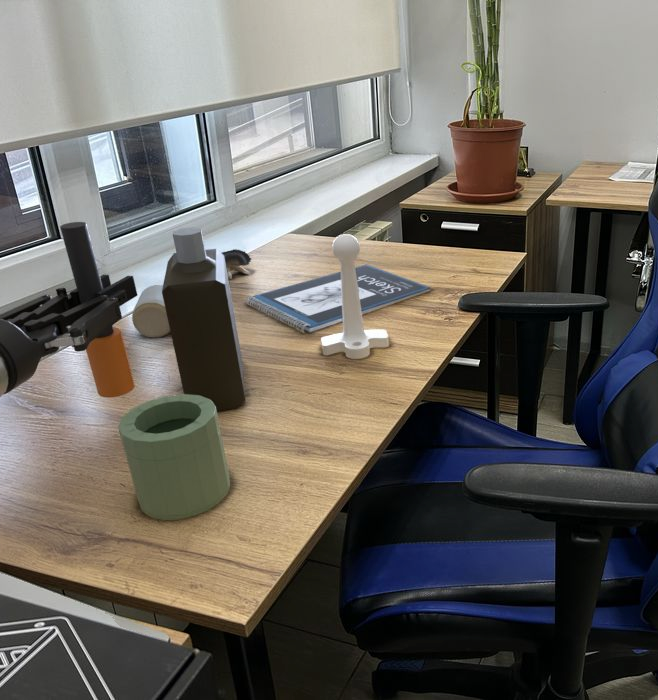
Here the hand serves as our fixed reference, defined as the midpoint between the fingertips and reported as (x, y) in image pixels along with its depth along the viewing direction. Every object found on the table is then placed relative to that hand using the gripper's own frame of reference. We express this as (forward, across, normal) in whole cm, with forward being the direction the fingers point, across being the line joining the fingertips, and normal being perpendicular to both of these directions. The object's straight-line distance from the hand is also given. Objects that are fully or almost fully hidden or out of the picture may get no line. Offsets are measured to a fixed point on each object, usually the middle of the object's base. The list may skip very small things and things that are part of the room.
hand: (120, 285), depth 92 cm
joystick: (+26, +22, -21) cm, 40 cm away
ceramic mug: (+30, -15, -20) cm, 39 cm away
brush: (-5, 0, -12) cm, 14 cm away
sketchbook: (+49, +11, -20) cm, 54 cm away
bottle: (+10, +5, -21) cm, 23 cm away
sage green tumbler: (-15, +14, -20) cm, 29 cm away
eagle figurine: (+58, -17, -20) cm, 63 cm away
